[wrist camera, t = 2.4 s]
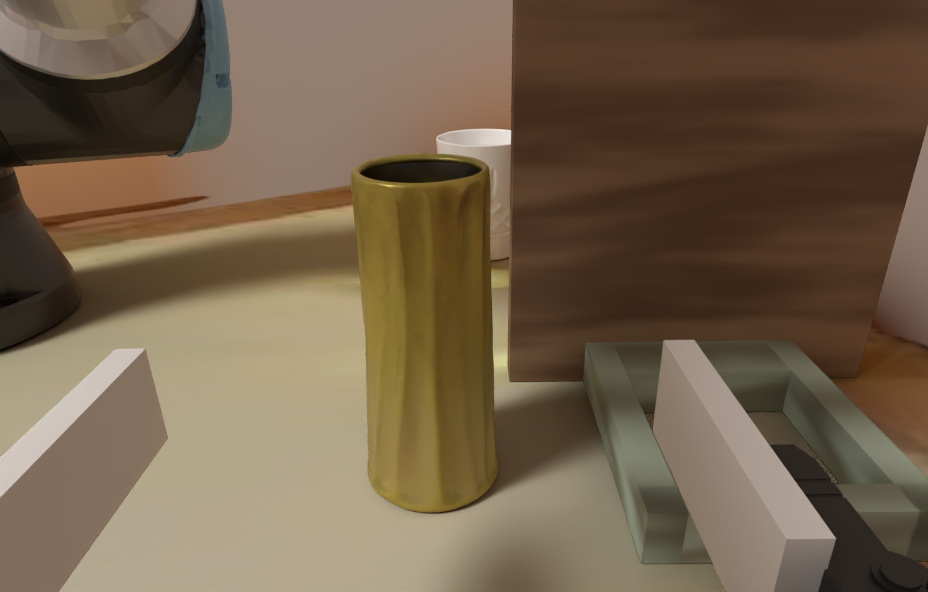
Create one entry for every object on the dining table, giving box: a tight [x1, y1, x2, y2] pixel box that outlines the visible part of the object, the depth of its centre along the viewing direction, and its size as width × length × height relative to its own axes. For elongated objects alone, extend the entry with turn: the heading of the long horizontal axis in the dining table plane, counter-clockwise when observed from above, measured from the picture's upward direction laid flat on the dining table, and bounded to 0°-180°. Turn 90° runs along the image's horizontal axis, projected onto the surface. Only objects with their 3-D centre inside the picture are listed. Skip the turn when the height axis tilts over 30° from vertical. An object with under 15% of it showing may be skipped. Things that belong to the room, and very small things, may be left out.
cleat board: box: [508, 0, 928, 564], centre depth 26 cm, size 15×20×24 cm
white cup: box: [436, 129, 511, 260], centre depth 55 cm, size 8×8×10 cm
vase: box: [351, 153, 499, 512], centre depth 27 cm, size 6×6×14 cm
